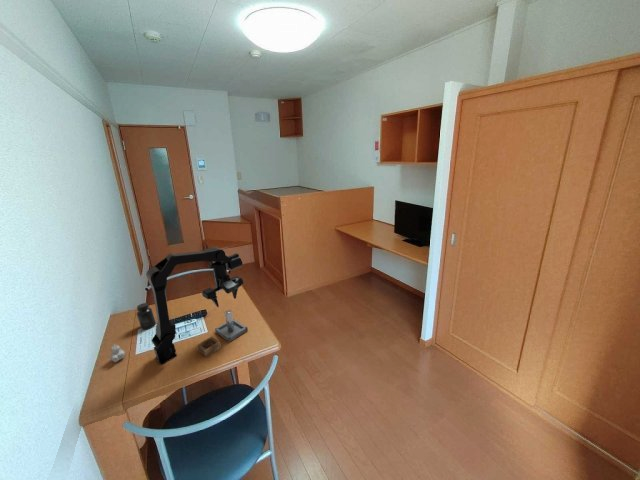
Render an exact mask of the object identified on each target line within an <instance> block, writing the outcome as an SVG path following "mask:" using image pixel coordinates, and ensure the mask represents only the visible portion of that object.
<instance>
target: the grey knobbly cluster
mask: <svg viewBox="0 0 640 480" xmlns="http://www.w3.org/2000/svg"><path fill="white" fill-rule="evenodd" d="M110 352H111V353H110V354H109V356H108V359H109V360H110V361H113V363H116V362H118V361H120V360H122V359H124V357H125V355H126V352H125V350H123V349H121V347H120V346H119V345H118V344H115V343H113V345H111V348H110Z"/></svg>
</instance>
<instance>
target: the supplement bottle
mask: <svg viewBox="0 0 640 480" xmlns="http://www.w3.org/2000/svg"><path fill="white" fill-rule="evenodd" d="M136 310H137V312H136V318H137V320H138V324H139V326H140V329H141V330H149V329H151V328H153V327H155V326H156V325H157V320H156V318H155V314H154V312H153V308H152V307H150V305H149V303H147V302H143V303H140V304H138V305H137V306H136Z"/></svg>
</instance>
